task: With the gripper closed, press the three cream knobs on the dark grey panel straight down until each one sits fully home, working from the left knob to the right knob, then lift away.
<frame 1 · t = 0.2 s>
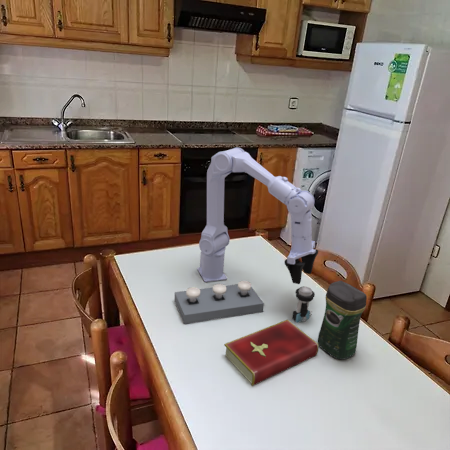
hand: (302, 278, 119), 11 cm above the table, tool pointing down, fingers open, 7 cm apart
knob 2: (244, 288, 122), point 5 cm above the table, slide at 0.0 cm
knob 1: (193, 295, 117), point 5 cm above the table, slide at 0.0 cm
coffee jar: (335, 348, 107), on the table
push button: (302, 319, 119), on the table
knob panel: (218, 306, 122), on the table
knob middle: (219, 292, 120), point 5 cm above the table, slide at 0.0 cm
hardcover book: (270, 357, 103), on the table
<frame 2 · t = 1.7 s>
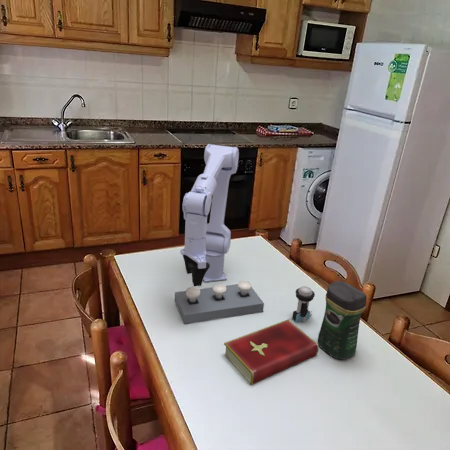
hand: (193, 279, 115), 10 cm above the table, tool pointing down, fingers open, 6 cm apart
nothing on the table moved.
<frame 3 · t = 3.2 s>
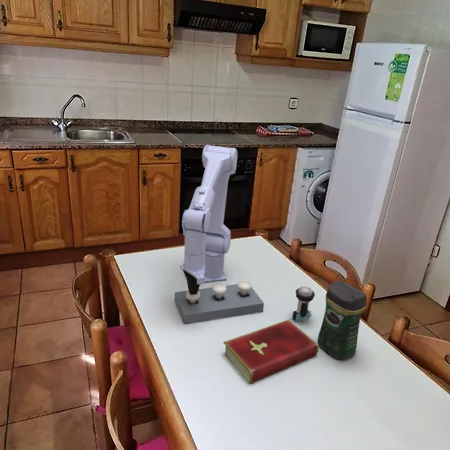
hand: (193, 293, 117), 6 cm above the table, tool pointing down, fingers closed, pressing on knob 1
knob 1: (193, 297, 117), point 4 cm above the table, slide at 0.8 cm, touching gripper
everything else where it was.
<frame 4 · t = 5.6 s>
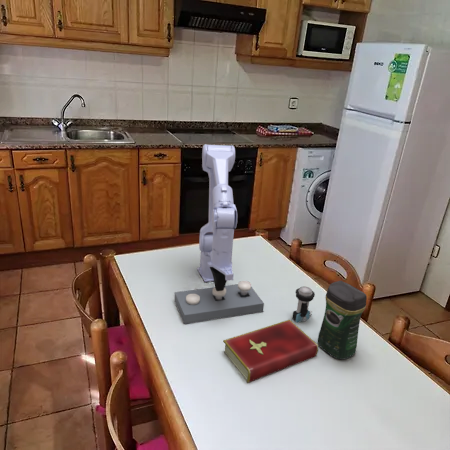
hand: (219, 289, 119), 6 cm above the table, tool pointing down, fingers closed, pressing on knob middle
knob 1: (192, 302, 118), point 3 cm above the table, slide at 2.2 cm
knob middle: (219, 294, 120), point 4 cm above the table, slide at 0.7 cm, touching gripper
everything else where it was.
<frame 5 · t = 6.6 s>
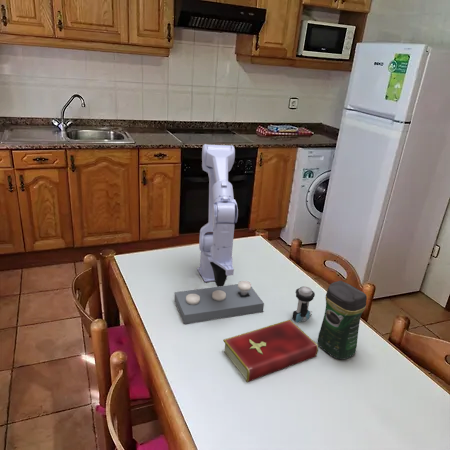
hand: (219, 285, 119), 7 cm above the table, tool pointing down, fingers closed
knob middle: (218, 298, 121), point 3 cm above the table, slide at 2.2 cm
everything else where it was.
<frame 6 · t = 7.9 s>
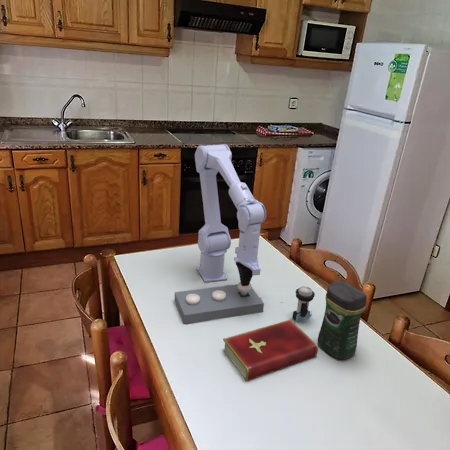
hand: (244, 284, 122), 6 cm above the table, tool pointing down, fingers closed, pressing on knob 2
knob 2: (244, 289, 122), point 5 cm above the table, slide at 0.1 cm, touching gripper
everything else where it was.
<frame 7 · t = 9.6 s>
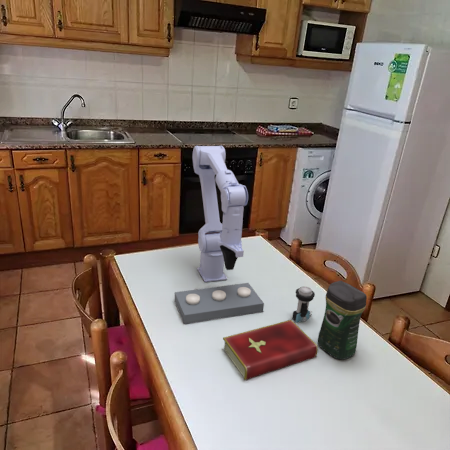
hand: (229, 268, 122), 10 cm above the table, tool pointing down, fingers closed
knob 2: (243, 295, 123), point 3 cm above the table, slide at 2.2 cm
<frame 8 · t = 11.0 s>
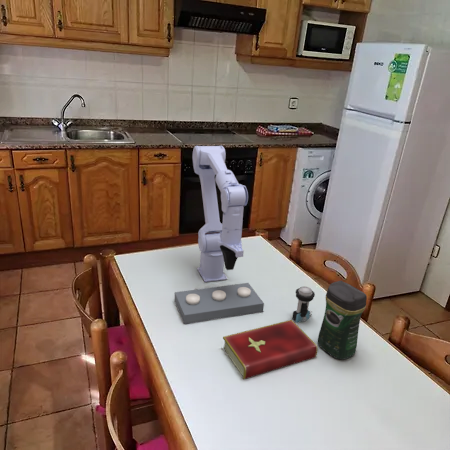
hand: (229, 268, 122), 10 cm above the table, tool pointing down, fingers closed
at the end: knob 1 slide at 2.2 cm; knob middle slide at 2.2 cm; knob 2 slide at 2.2 cm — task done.
